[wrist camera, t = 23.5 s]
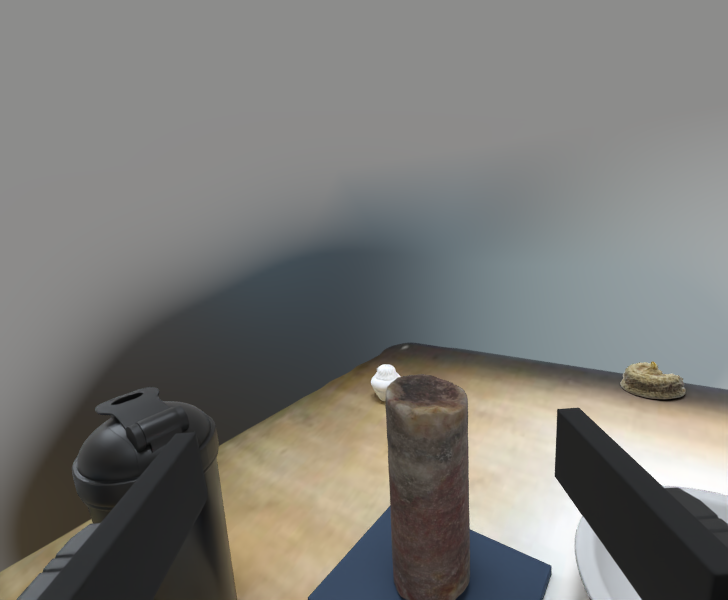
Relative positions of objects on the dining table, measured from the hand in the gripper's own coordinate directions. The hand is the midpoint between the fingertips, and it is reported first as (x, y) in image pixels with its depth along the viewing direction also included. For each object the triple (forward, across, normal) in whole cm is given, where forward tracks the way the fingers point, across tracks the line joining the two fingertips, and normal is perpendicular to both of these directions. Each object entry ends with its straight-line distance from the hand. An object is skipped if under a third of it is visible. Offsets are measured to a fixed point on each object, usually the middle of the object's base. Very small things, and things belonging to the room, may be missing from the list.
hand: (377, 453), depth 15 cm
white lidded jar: (+59, +2, -28) cm, 66 cm away
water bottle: (+16, -18, -28) cm, 37 cm away
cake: (+56, +51, -28) cm, 81 cm away
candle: (+19, +4, -27) cm, 33 cm away
